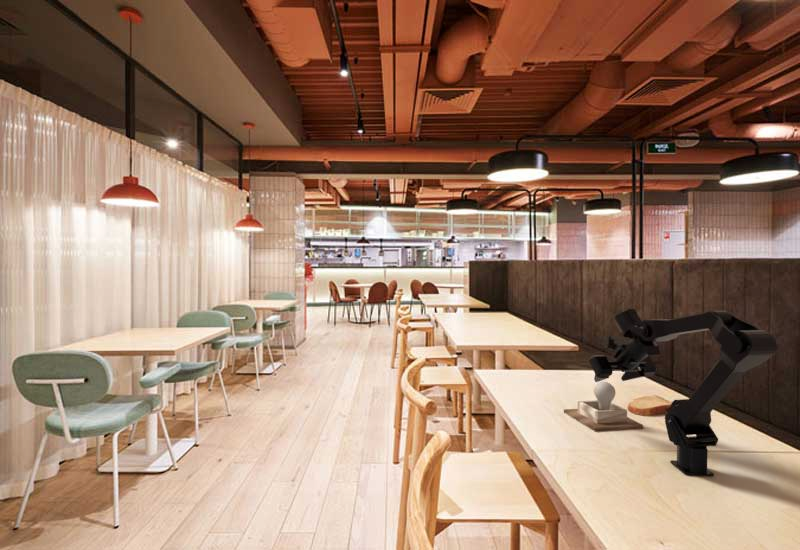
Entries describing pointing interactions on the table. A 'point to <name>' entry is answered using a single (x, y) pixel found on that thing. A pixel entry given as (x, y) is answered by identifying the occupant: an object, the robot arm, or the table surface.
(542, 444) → the table surface
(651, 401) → the slice of bread
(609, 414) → the socket board
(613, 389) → the lightbulb
